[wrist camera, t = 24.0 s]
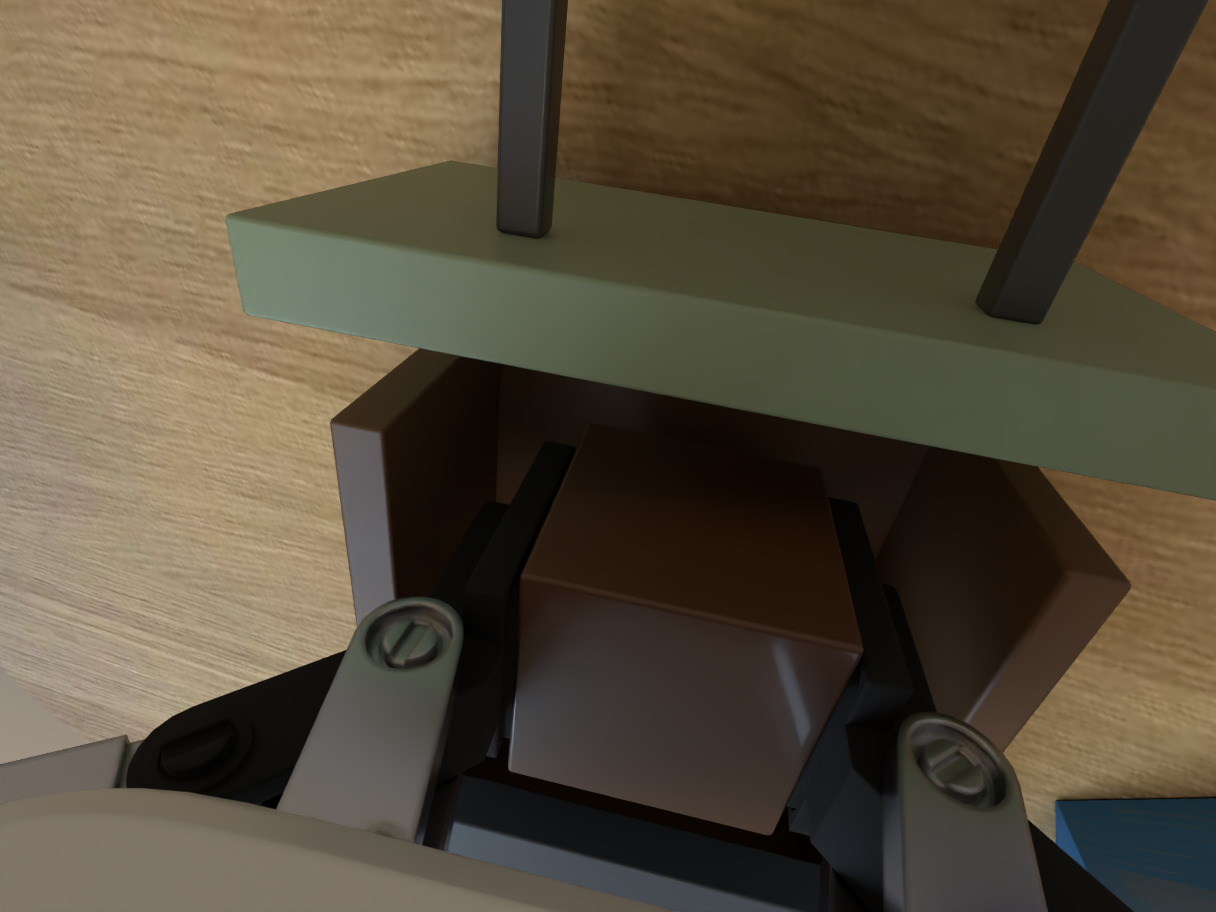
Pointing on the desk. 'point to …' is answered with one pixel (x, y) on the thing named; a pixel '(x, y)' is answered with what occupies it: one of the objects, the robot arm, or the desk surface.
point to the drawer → (763, 367)
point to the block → (681, 628)
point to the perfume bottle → (1145, 850)
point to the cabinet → (625, 854)
